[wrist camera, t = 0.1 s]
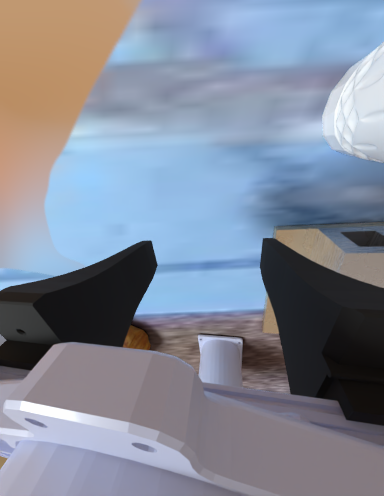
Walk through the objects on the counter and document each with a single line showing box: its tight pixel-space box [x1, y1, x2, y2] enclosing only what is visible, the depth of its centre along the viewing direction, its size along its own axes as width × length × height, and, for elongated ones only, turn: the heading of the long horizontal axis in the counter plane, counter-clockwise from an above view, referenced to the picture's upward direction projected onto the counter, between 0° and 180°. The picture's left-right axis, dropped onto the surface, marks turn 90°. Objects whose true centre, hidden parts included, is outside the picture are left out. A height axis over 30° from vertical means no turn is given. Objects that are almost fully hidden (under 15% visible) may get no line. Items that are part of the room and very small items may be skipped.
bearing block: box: [262, 222, 384, 334], centre depth 20 cm, size 18×14×6 cm
